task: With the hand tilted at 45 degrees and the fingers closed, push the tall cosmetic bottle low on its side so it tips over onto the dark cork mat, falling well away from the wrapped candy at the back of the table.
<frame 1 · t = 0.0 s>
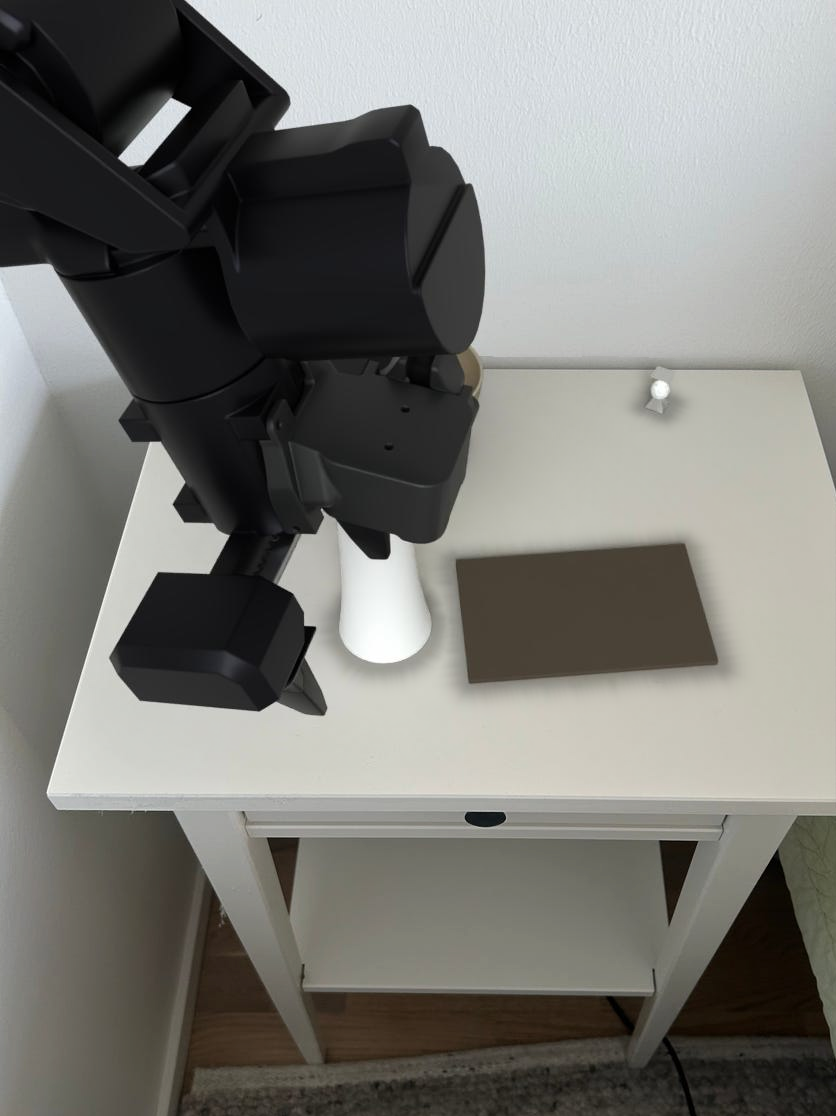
hand: (350, 630, 47), 15 cm above the table, tool pointing down, fingers open, 9 cm apart
wrapped candy: (656, 406, 79), on the table
cosmetic bottle: (385, 628, 66), on the table
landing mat: (581, 612, 67), on the table
bowl: (416, 448, 76), on the table
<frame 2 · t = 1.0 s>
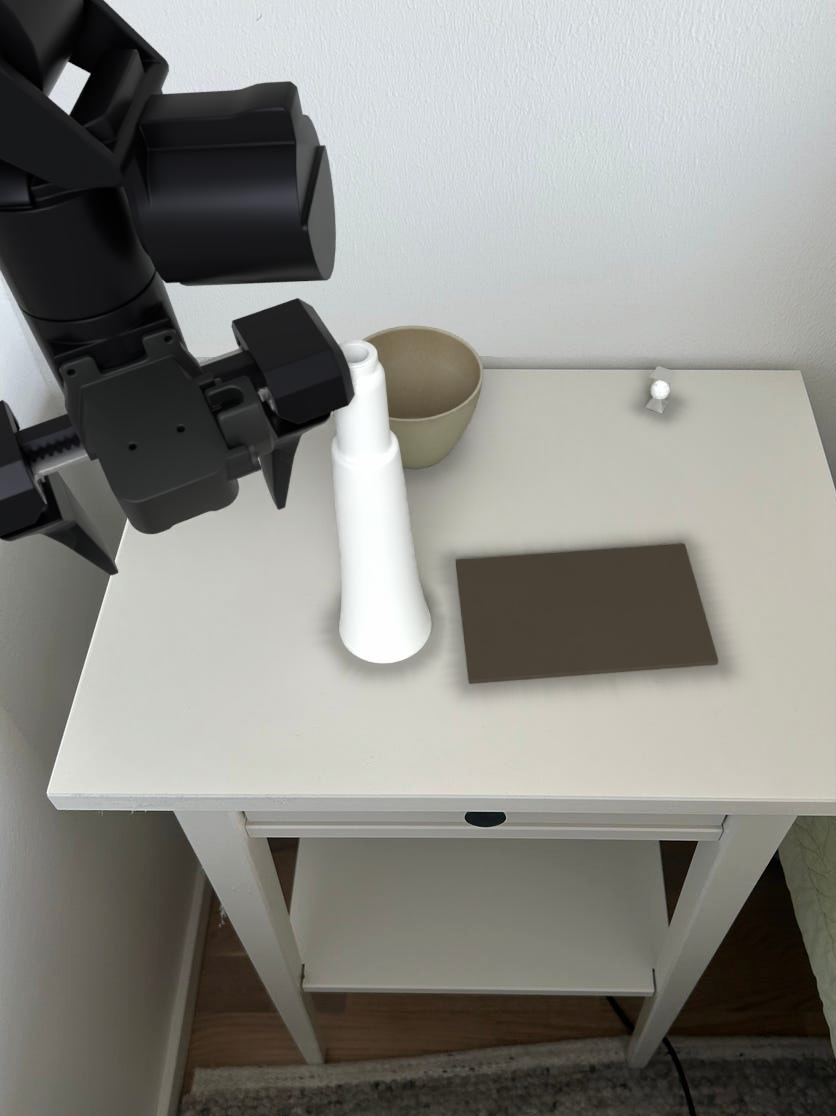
hand: (197, 536, 53), 13 cm above the table, tool pointing down, fingers open, 9 cm apart
nothing on the table moved.
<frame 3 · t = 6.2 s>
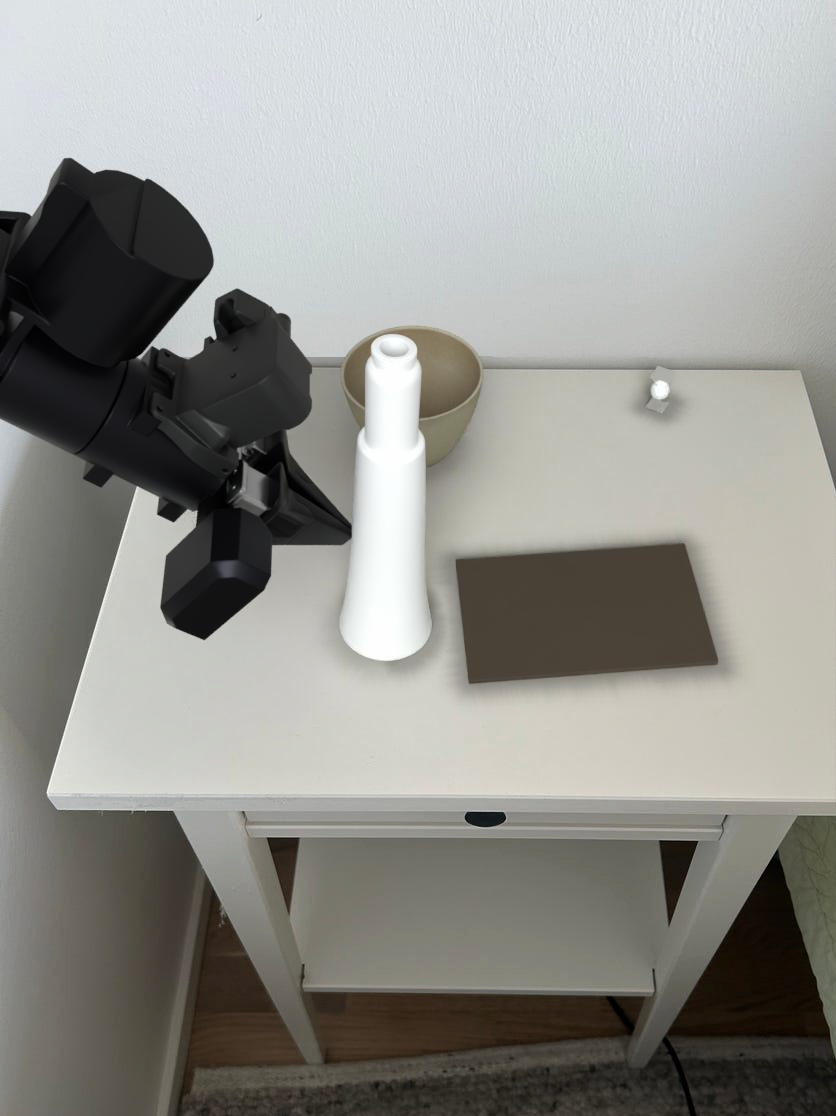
hand: (348, 536, 59), 9 cm above the table, tool tilted 45°, fingers closed, pressing on cosmetic bottle
cosmetic bottle: (385, 626, 66), on the table, touching gripper
everything else where it was.
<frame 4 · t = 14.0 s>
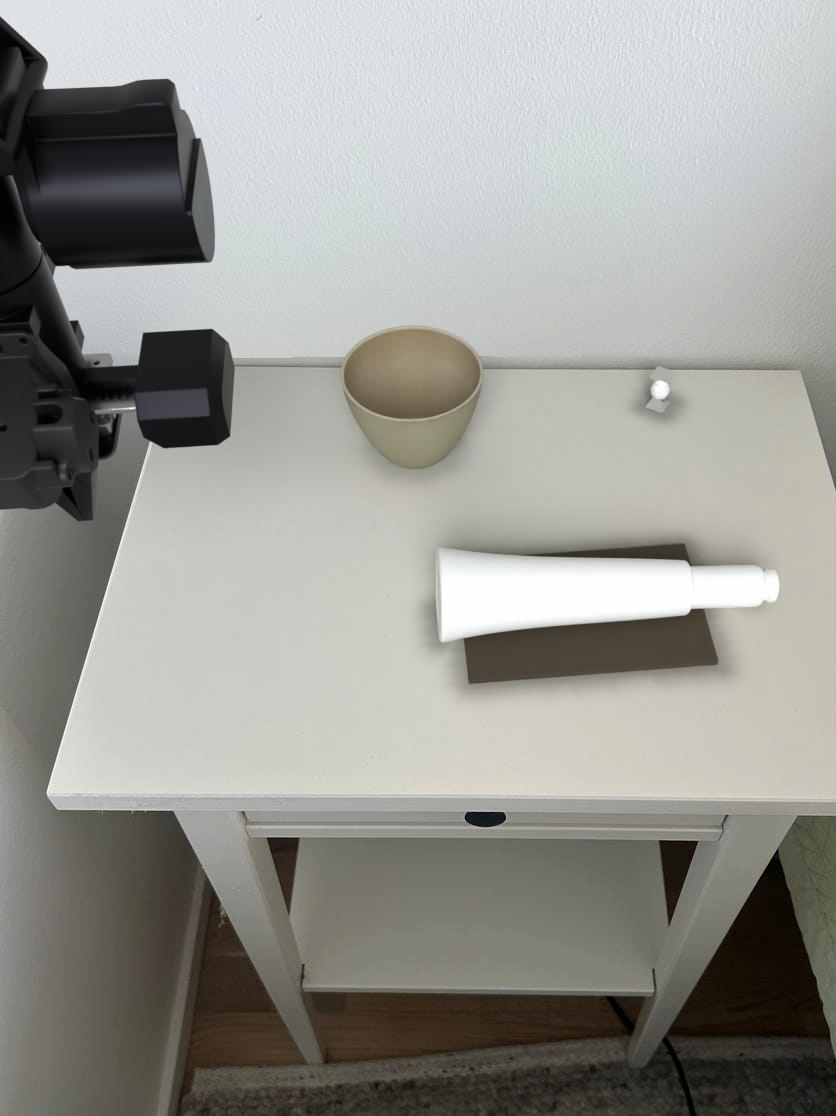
hand: (87, 515, 55), 12 cm above the table, tool pointing down, fingers closed
cosmetic bottle: (434, 595, 64), point 3 cm above the table, touching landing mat
everything else where it was.
at the end: cosmetic bottle tilted 93°; cosmetic bottle touching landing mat; the gripper is holding nothing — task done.
